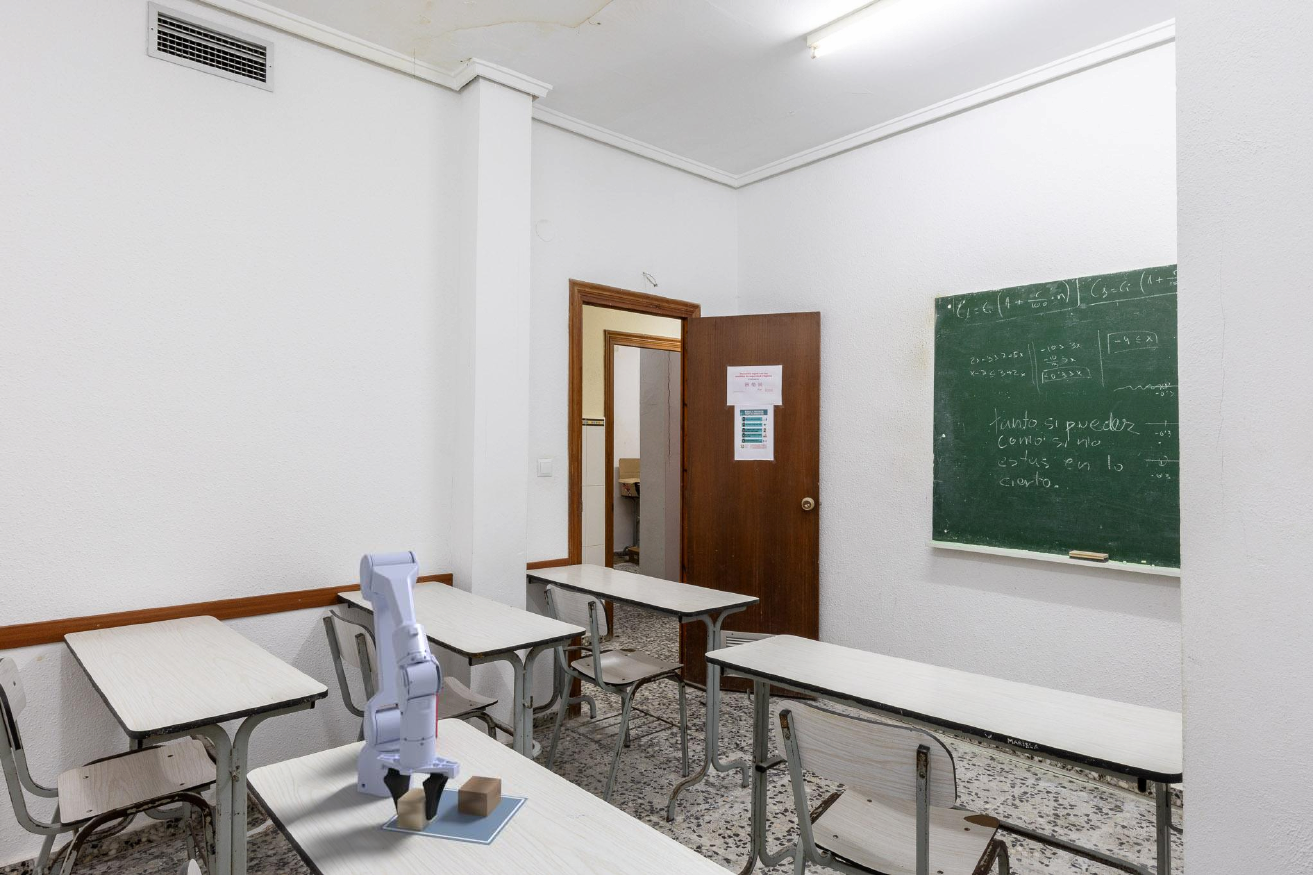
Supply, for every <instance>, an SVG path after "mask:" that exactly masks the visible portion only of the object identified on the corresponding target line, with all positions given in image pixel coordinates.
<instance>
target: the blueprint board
mask: <svg viewBox="0 0 1313 875" xmlns="http://www.w3.org/2000/svg"><path fill="white" fill-rule="evenodd" d="M528 800H529V798H528V797H522V796H512V795H506V794H501V802H500V803H499V804H498V806H497V807H496V808H495V809H494V810H493V811H492V812H491V813H490V814H489V816H488V817H483V816H475V815H468V814H460V813H458V789H457V788H456V789H455V788H447V787H444V790H443V792H442V795H441V798H440V801H439V805H438V809H437V814H436V817H435V818H434V819H433V820H432V821H431V822H430V823H429V824H428V825H427V826H426V827H425V828H424V829H423V830H422V831H420V830H413V829H406V828H399V827H397V812H395V814H394V815H392V816H391V817H390V818H389V819H388V820H386V822H384V823H383V824H382V825H381V826H380V827H379V828H377V830H379V831H380V830H381V831H386V832H394V833H401V834H408V835H414V836H422V837H427V838H428V837H430V838H436V839H444V840H449V841H450V840H452V841H458V842H464V843H472V844H479V845H487V846H490V845H491V844H492V843H493V842H494V840H495V839H496V838H497V837H498V836H499V835H500V833H501V832H502V831H503V830H504V829H505V827H506V826H507V825H508V824H509V822H510V821H512V819H513V818H514V816H515V815H516V814H517V813H518V812H519V810H521V808H522V807H523V806H524V805H525V803H526V802H527V801H528Z"/></svg>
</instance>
